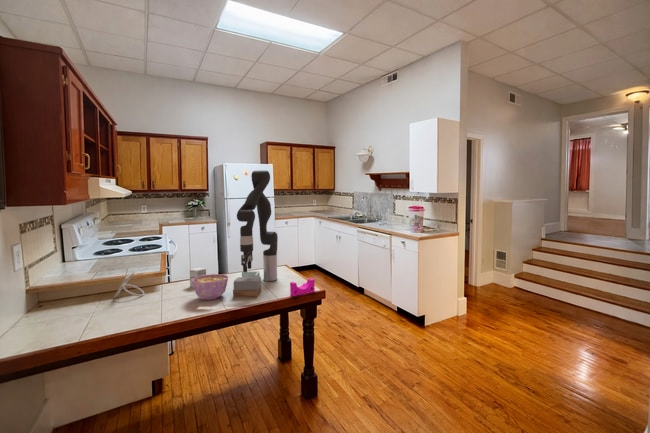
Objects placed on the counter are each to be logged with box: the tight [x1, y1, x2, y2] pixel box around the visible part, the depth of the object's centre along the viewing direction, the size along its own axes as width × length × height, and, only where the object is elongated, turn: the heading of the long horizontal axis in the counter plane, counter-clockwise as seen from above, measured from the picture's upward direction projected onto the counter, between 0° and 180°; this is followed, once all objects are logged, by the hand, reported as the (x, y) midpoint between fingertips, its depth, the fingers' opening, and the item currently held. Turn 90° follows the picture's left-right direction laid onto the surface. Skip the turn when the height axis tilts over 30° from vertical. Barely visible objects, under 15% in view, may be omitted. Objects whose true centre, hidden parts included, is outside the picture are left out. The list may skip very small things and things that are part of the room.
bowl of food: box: [192, 273, 229, 301], centre depth 178 cm, size 20×20×12 cm
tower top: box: [233, 276, 262, 290], centre depth 182 cm, size 10×14×5 cm
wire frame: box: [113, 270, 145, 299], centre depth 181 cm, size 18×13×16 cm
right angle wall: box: [241, 270, 261, 277], centre depth 207 cm, size 12×12×8 cm
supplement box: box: [189, 267, 207, 289], centre depth 199 cm, size 7×7×13 cm
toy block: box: [289, 278, 316, 297], centre depth 187 cm, size 15×6×8 cm, turn 126°
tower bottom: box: [232, 285, 262, 299], centre depth 182 cm, size 10×14×5 cm
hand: (247, 270), depth 182 cm, fingers open, 8 cm apart
